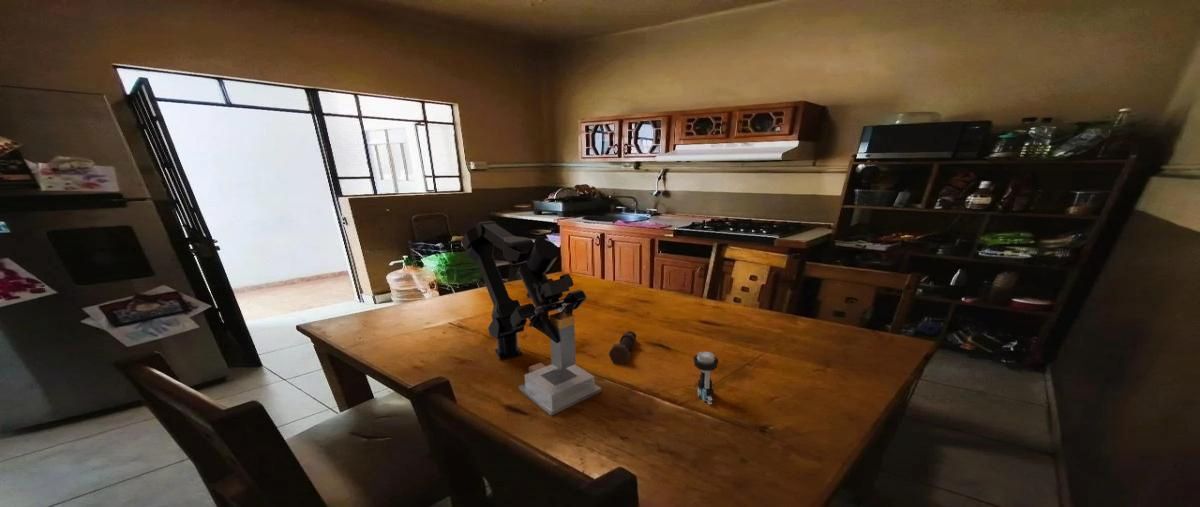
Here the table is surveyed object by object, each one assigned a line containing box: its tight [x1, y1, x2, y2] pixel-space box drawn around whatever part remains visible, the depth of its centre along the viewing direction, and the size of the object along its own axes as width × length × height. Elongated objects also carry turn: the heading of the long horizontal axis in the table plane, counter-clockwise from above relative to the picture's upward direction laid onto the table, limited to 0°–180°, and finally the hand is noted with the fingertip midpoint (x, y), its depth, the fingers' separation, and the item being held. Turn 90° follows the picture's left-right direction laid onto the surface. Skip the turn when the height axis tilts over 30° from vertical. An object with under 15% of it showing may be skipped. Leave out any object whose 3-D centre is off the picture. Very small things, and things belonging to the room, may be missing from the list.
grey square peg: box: [549, 311, 576, 370], centre depth 88 cm, size 4×4×12 cm
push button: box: [692, 351, 719, 405], centre depth 85 cm, size 7×5×10 cm
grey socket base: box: [518, 362, 602, 417], centre depth 92 cm, size 18×14×4 cm
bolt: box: [608, 330, 637, 365], centre depth 109 cm, size 6×5×15 cm
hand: (566, 339), depth 87 cm, fingers closed on grey square peg, 4 cm apart
